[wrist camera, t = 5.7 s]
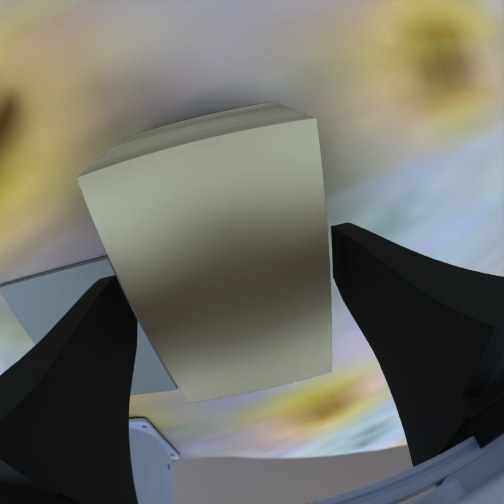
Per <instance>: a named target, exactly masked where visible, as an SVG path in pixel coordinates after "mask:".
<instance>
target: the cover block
mask: <svg viewBox="0 0 504 504" xmlns="http://www.w3.org/2000/svg"><path fill="white" fill-rule="evenodd" d="M77 180H78V182H79V185H80V188H81V191H82V193H83V196H84V199H85V201H86V204H87V207H88V209H89V212H90V214H91V217H92V219H93V222H94V224H95V226H96V229H97V231H98V234H99V236H100V238H101V241H102V243H103V245H104V248H105V250H106V252H107V254H108V257H109V259H110V261H111V263H112V265H113V268H114V270H115V272H116V274H117V276H118V278H119V280H120V282H121V285H122V287H123V289H124V291H125V293H126V295H127V297H128V299H129V301H130V303H131V305H132V307H133V309H134V311H135V312H136V314H137V316H138V318H139V320H140V322H141V324H142V326H143V328H144V329H145V331H146V333H147V335H148V337H149V339H150V340H151V342H152V344H153V346H154V347H155V349H156V351H157V353H158V354H159V356H160V358H161V360H162V361H163V363H164V365H165V366H166V368H167V370H168V371H169V373H170V375H171V376H172V378H173V380H174V381H175V383H176V384H177V386H178V388H179V389H180V391H181V392H182V394H183V396H184V397H185V399H186V400H187V402H188V403H194V402H200V401H207V400H212V399H218V398H224V397H229V396H235V395H240V394H245V393H249V392H254V391H259V390H263V389H268V388H272V387H276V386H281V385H285V384H289V383H293V382H297V381H301V380H304V379H308V378H312V377H316V376H319V375H323V374H326V373H330V372H332V313H331V282H330V261H329V243H328V228H327V215H326V203H325V191H324V181H323V171H322V161H321V152H320V144H319V135H318V128H317V120H316V118H315V117H312V116H309V115H307V114H304V113H301V112H299V111H296V110H293V109H290V108H288V107H285V106H282V105H279V104H276V103H273V102H269V103H263V104H257V105H252V106H247V107H241V108H236V109H232V110H227V111H222V112H217V113H213V114H209V115H204V116H200V117H196V118H192V119H188V120H184V121H180V122H176V123H173V124H169V125H165V126H162V127H158V128H155V129H151V130H148V131H145V132H141V133H138V134H135V135H132V136H129V137H126V138H124V139H122V140H121V141H120V142H119V143H117V144H116V145H115V146H114V147H112V148H111V149H110V150H109V151H107V152H106V153H105V154H104V155H103V156H101V157H100V158H99V159H98V160H97V161H95V162H94V163H93V164H92V165H91V166H90V167H88V168H87V169H86V170H85V171H84V172H83V173H82V174H80V175H79V176H78V177H77Z"/></svg>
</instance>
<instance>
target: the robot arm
mask: <svg viewBox="0 0 504 504" xmlns="http://www.w3.org/2000/svg"><path fill="white" fill-rule="evenodd" d="M331 235H332V257H333V278H334V280H335V283H336V285H337V287H338V290H339V292H340V294H341V296H342V299H343V301H344V303H345V304H346V306H347V308H348V309H349V311H350V313H351V314H352V316H353V318H354V320H355V321H356V323H357V324H358V326H359V328H360V329H361V331H362V333H363V335H364V336H365V338H366V340H367V341H368V343H369V345H370V346H371V348H372V350H373V352H374V354H375V356H376V358H377V360H378V362H379V364H380V366H381V369H382V371H383V374H384V376H385V378H386V381H387V383H388V386H389V388H390V391H391V394H392V396H393V399H394V402H395V405H396V407H397V410H398V414H399V417H400V420H401V423H402V426H403V429H404V432H405V436H406V440H407V443H408V447H409V451H410V455H411V459H412V464H413V468H410V469H408V470H406V471H404V472H401V473H399V474H397V475H394V476H392V477H389V478H387V479H384V480H382V481H379V482H376V483H374V484H371V485H368V486H365V487H363V488H360V489H357V490H354V491H351V492H348V493H345V494H342V495H338V496H335V497H331V498H328V499H324V500H320V501H316V502H313V503H309V504H398V503H400V502H403V501H405V500H407V499H410V498H412V497H414V496H416V495H418V494H420V493H422V492H425V491H427V490H429V489H431V488H432V487H435V486H436V488H435V489H433V490H432V491H430V492H428V493H427V494H425V495H423V496H421V497H419V498H417V499H415V500H413V501H411V502H410V503H407V504H504V277H502V276H496V275H490V274H485V273H481V272H477V271H473V270H468V269H464V268H461V267H457V266H454V265H451V264H447V263H444V262H441V261H438V260H435V259H432V258H430V257H427V256H424V255H422V254H419V253H417V252H415V251H412V250H410V249H407V248H405V247H403V246H400V245H398V244H396V243H394V242H391V241H389V240H387V239H385V238H383V237H381V236H379V235H376V234H374V233H372V232H370V231H368V230H366V229H363V228H361V227H359V226H357V225H354V224H351V223H344V224H339V225H335V226H331ZM137 336H138V320H137V318H136V316H135V314H134V312H133V310H132V308H131V306H130V304H129V302H128V300H127V298H126V296H125V294H124V292H123V290H122V288H121V286H120V284H119V282H118V280H117V277H116V275H113V276H108V277H104V278H100V279H99V280H97V281H96V282H95V283H94V284H93V285H92V286H91V287H90V288H89V289H88V290H87V291H86V292H85V293H84V294H83V295H82V296H81V297H80V298H79V299H78V301H77V302H76V303H75V304H74V305H73V306H72V307H71V308H70V309H69V310H68V312H67V313H66V314H65V315H64V316H63V317H62V318H61V319H60V320H59V321H58V322H57V323H56V324H55V326H54V327H53V328H52V329H51V330H50V331H49V332H48V333H47V334H46V335H45V336H44V337H43V338H42V339H41V340H40V341H39V342H38V343H37V344H36V345H35V346H34V347H33V348H32V349H31V350H30V351H29V352H28V353H27V354H25V355H24V356H23V357H22V358H21V359H20V360H19V361H17V362H16V363H15V364H14V365H12V366H11V367H10V368H9V369H8V370H6V371H5V372H4V373H3V374H1V375H0V504H174V498H173V474H172V460H178V459H180V455H179V454H178V453H177V452H176V451H175V450H174V449H173V448H172V447H171V446H170V445H169V444H168V442H167V441H166V440H165V439H164V438H163V437H162V436H161V435H160V434H159V433H158V432H157V431H156V429H155V428H154V427H153V426H152V425H151V424H150V423H149V422H148V421H147V420H146V419H143V418H138V419H129V402H130V393H131V386H132V378H133V372H134V365H135V358H136V351H137Z"/></svg>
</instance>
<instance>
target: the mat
mask: <svg viewBox="0 0 504 504" xmlns="http://www.w3.org/2000/svg"><path fill="white" fill-rule="evenodd" d="M113 275H116V277H117V280H118V282H119V284H120V286H121V288H122V290H123V292H124V294H125V296H126V298H127V300H128V302H129V304H130V306H131V308H132V310H133V312H134V314H135V316H136V318H137V320H138V336H137V351H136V358H135V365H134V372H133V378H132V386H131V393H130V395H135V394H144V393H153V392H161V391H168V390H175V389H177V384H176V383H175V381H174V380H173V378H172V376H171V375H170V373H169V371H168V370H167V368H166V366H165V365H164V363H163V361H162V360H161V358H160V356H159V354H158V353H157V351H156V349H155V347H154V346H153V344H152V342H151V340H150V339H149V337H148V335H147V333H146V331H145V329H144V328H143V326H142V324H141V322H140V320H139V318H138V316H137V314H136V312H135V311H134V309H133V307H132V305H131V303H130V301H129V299H128V297H127V295H126V293H125V291H124V289H123V287H122V285H121V282H120V280H119V278H118V276H117V274H116V272H115V270H114V268H113V265H112V263H111V261H110V259H109V257H108V256H104V257H100V258H96V259H92V260H88V261H85V262H81V263H77V264H73V265H69V266H66V267H62V268H58V269H54V270H51V271H47V272H43V273H40V274H36V275H32V276H29V277H25V278H22V279H18V280H14V281H11V282H7V283H4V284H1V285H0V291H1V293H2V295H3V296H4V298H5V300H6V301H7V303H8V304H9V306H10V308H11V309H12V311H13V312H14V314H15V315H16V317H17V318H18V320H19V321H20V323H21V324H22V326H23V327H24V329H25V330H26V331H27V333H28V334H29V336H30V337H31V339H32V340H33V341H34V343H35V344H37V343H38V342H39V341H40V340H41V339H42V338H43V337H44V336H45V335H46V334H47V333H48V332H49V331H50V330H51V329H52V328H53V327H54V326H55V324H56V323H57V322H58V321H59V320H60V319H61V318H62V317H63V316H64V315H65V314H66V313H67V312H68V310H69V309H70V308H71V307H72V306H73V305H74V304H75V303H76V302H77V301H78V299H79V298H80V297H81V296H82V295H83V294H84V293H85V292H86V291H87V290H88V289H89V288H90V287H91V286H92V285H93V284H94V283H95V282H96V281H97V280H99V279H100V278H104V277H108V276H113Z"/></svg>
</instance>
